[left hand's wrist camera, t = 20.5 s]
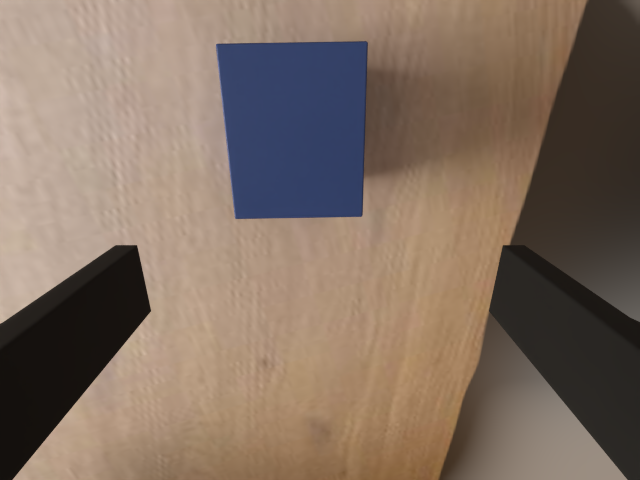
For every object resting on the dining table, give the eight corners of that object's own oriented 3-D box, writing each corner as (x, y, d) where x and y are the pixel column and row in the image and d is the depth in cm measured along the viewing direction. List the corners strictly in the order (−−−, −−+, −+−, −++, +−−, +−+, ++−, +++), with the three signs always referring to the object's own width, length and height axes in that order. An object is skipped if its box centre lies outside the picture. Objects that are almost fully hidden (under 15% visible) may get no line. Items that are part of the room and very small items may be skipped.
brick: (347, 181, 27) (362, 216, 18) (261, 182, 27) (234, 219, 18) (348, 65, 24) (368, 41, 15) (252, 67, 24) (215, 43, 15)
